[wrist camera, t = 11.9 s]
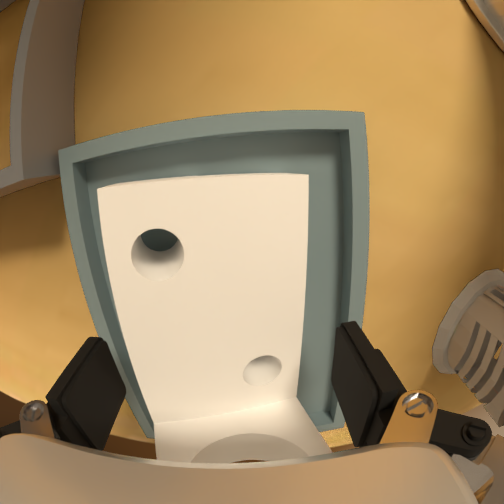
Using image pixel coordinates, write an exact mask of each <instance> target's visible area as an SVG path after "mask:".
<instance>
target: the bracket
mask: <svg viewBox="0 0 504 504" xmlns="http://www.w3.org/2000/svg"><path fill="white" fill-rule="evenodd" d="M97 195H98V206H99V215H100V223H101V231H102V238H103V245H104V251H105V257H106V263H107V268H108V273H109V279H110V283H111V288H112V293H113V297H114V302H115V306H116V310H117V314H118V318H119V322H120V326H121V330H122V333H123V337H124V340H125V344H126V347H127V350H128V354H129V357H130V360H131V363H132V366H133V369H134V372H135V375H136V378H137V381H138V384H139V387H140V390H141V392H142V395H143V398H144V400H145V403H146V405H147V408H148V410H149V413H150V415H151V418H152V420H153V423H154V435H155V447H156V458H157V460H163V461H174V462H188V463H233V462H237V461H242V460H265V461H278V460H287V459H295V458H303V457H310V456H316V455H322V454H328V453H333V452H332V451H331V449H330V448H329V446H328V445H327V443H326V442H325V440H324V439H323V437H322V436H321V434H320V433H319V431H318V430H317V428H316V427H315V425H314V424H313V422H312V421H311V419H310V417H309V416H308V414H307V413H306V411H305V410H304V408H303V406H302V405H301V403H300V402H299V400H298V399H297V397H296V396H297V387H298V378H299V368H300V357H301V346H302V334H303V321H304V306H305V290H306V270H307V246H308V201H309V175H306V174H292V173H246V174H222V175H205V176H183V177H171V178H160V179H150V180H141V181H132V182H124V183H116V184H113V185H109V186H105V187H102V188H98V189H97ZM150 229H164V230H167V231H170V232H171V233H173V234H174V235H175V236H176V237H177V238H178V240H177V242H176V243H175V245H174V246H173V247H172V248H170V249H168V250H166V251H154V250H151V249H150V248H148V247H147V246H146V245H145V244H144V243H143V241H142V238H141V234H142V233H143V232H145V231H147V230H150Z"/></svg>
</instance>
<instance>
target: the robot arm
mask: <svg viewBox="0 0 504 504" xmlns="http://www.w3.org/2000/svg"><path fill="white" fill-rule="evenodd" d="M466 2H467V3H468V5H469V7H470V8H471V10H472V11H473V12H474V14H475V15H476V17H477V18H478V20H479V21H480V23H481V24H482V25H483V27H484V28H485V29H486V31H487V32H488V34H489V35H490V36H491V37H492V38H493V40H494V41H495V42H496V44H497V45H498V46H499V47H500V48H501V49H502V51H503V52H504V0H466ZM331 382H332V386H333V389H334V392H335V394H336V397H337V400H338V402H339V405H340V408H341V410H342V413H343V416H344V419H345V421H346V424H347V427H348V430H349V433H350V435H351V438H352V441H353V444H354V446H355V447H360V448H355V449H350V450H344V451H339V452H334V453H328V454H322V455H316V456H310V457H303V458H295V459H287V460H278V461H267V462H252V463H188V462H174V461H163V460H154V459H146V458H138V457H132V456H126V455H120V454H114V453H110V452H105V451H102V450H103V449H104V447H105V444H106V442H107V439H108V437H109V434H110V432H111V429H112V427H113V424H114V422H115V419H116V417H117V414H118V412H119V410H120V407H121V405H122V403H123V400H124V398H125V396H126V387H125V384H124V382H123V380H122V378H121V375H120V373H119V371H118V368H117V366H116V364H115V361H114V359H113V356H112V354H111V351H110V349H109V346H108V344H107V342H106V341H104V339H103V338H101V337H89V338H88V339H87V340H86V341H85V343H84V344H83V345H82V347H81V348H80V349H79V351H78V352H77V353H76V355H75V356H74V357H73V359H72V360H71V361H70V363H69V364H68V366H67V367H66V368H65V370H64V371H63V372H62V374H61V375H60V377H59V378H58V379H57V381H56V382H55V384H54V385H53V387H52V388H51V390H50V391H49V392H48V394H47V395H46V399H47V401H48V403H47V404H45V403H44V402H43V401H40V400H34V401H31V402H29V403H27V404H26V405H25V406H23V408H22V409H21V412H20V420H19V421H17V422H14V423H12V424H9V425H7V426H4V427H1V428H0V504H504V437H502V436H500V435H498V434H497V435H496V437H495V436H493V435H492V431H491V428H490V426H489V425H488V424H487V423H486V422H485V421H483V420H481V419H478V418H473V417H468V416H464V415H460V414H456V413H452V412H448V411H444V410H441V409H438V403H437V400H436V399H435V397H434V396H433V395H432V394H430V393H429V392H426V391H423V390H410V391H408V392H407V391H406V389H405V388H404V386H403V384H402V383H401V381H400V380H399V378H398V377H397V375H396V374H395V372H394V370H393V369H392V367H391V366H390V364H389V363H388V361H387V360H386V358H385V357H384V355H383V354H382V352H381V351H380V350H379V349H374V348H373V346H372V345H371V343H370V342H369V340H368V339H367V337H366V336H365V334H364V333H363V331H362V330H361V328H360V327H359V325H358V324H357V322H356V321H350V322H344V323H341V325H340V327H337V328H336V334H335V345H334V356H333V366H332V375H331ZM471 489H472V490H471Z"/></svg>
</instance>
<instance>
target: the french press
mask: <svg viewBox="0 0 504 504" xmlns="http://www.w3.org/2000/svg"><path fill="white" fill-rule="evenodd" d="M502 343H503V345H502V349H501V352H500V355H499V357H498V359H497V360H496V359H494V358H493V357H494V355H495V353H496V352H497V350H498V348H499V347H500V345H501V344H502ZM432 352H433V365H434V366H435V367H436V369H437V370H438V371H439V372H440V373H446V374H455V373H456V374H458V376H459V377H460V378H461V380H462V381H463V382H464V383H466V386H467V387H468V388H469V389H470V391H471V392H473V393H476V394H474V395H475V397H476V398H477V399H478V401H479V402H481V403H487V404H486V405H484V408H485V410H486V411H487V412H488V413H489V415H490V416H491V417H492V419H493V420H494V421H495V422H496V424H497V425H498V426H499V427H501V426H503V425H504V273H503V272H502V271H501V270H499V269H494V270H488V271H484V272H483V273H481V274H480V275H479V276H477V277H476V278H475V279H473V280H472V281H470V282H469V283H468V284H467V285H466V287H465V288H464V289H463V290H462V292H461V293H460V294H459V295H458V296H457V298H456V299H455V300H454V301H453V302H452V304H451V306H450V308H449V310H448V311H447V313H446V315H445V317H444V319H443V320H442V322H441V324H440V326H439V328H438V332H437V335H436V338H435V341H434V344H433V347H432ZM464 376H465V377H466V378H467V379H464V378H463V377H464ZM473 387H474V388H473Z"/></svg>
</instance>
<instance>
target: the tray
mask: <svg viewBox="0 0 504 504" xmlns="http://www.w3.org/2000/svg"><path fill="white" fill-rule="evenodd" d="M58 153H59V166H60V176H61V185H62V193H63V200H64V207H65V213H66V219H67V224H68V230H69V235H70V240H71V244H72V249H73V253H74V257H75V262H76V266H77V270H78V273H79V277H80V281H81V284H82V288H83V291H84V295H85V298H86V301H87V304H88V307H89V310H90V313H91V316H92V319H93V322H94V325H95V328H96V331H97V333H98V336H99V337H101V338H103V339H104V341H106V342H107V344H108V346H109V349H110V351H111V354H112V356H113V359H114V361H115V364H116V366H117V368H118V371H119V373H120V375H121V378H122V380H123V382H124V384H125V387H126V396H125V398H126V400H127V402H128V404H129V406H130V408H131V410H132V412H133V414H134V416H135V417H136V419H137V421H138V423H139V425H140V426H141V428H142V430H143V432H144V433H145V435H146V437H147V438H153V439H155V435H154V423H153V420H152V418H151V415H150V413H149V410H148V408H147V405H146V403H145V400H144V398H143V395H142V392H141V390H140V387H139V384H138V381H137V378H136V375H135V372H134V369H133V366H132V363H131V360H130V357H129V354H128V350H127V347H126V344H125V340H124V337H123V333H122V330H121V326H120V322H119V318H118V314H117V310H116V306H115V302H114V297H113V293H112V288H111V283H110V279H109V273H108V268H107V263H106V257H105V251H104V245H103V238H102V231H101V223H100V215H99V206H98V195H97V189H98V188H102V187H105V186H109V185H113V184H116V183H124V182H132V181H141V180H150V179H160V178H171V177H183V176H205V175H222V174H246V173H292V174H306V175H309V201H308V246H307V270H306V290H305V306H304V321H303V334H302V346H301V357H300V368H299V378H298V387H297V396H296V397H297V399H298V400H299V402H300V403H301V405H302V406H303V408H304V410H305V411H306V413H307V414H308V416H309V417H310V419H311V421H312V422H313V424H314V425H315V427H316V428H317V430H318V431H319V432H323V431H328V430H333V429H338V428H343V427H344V423H345V419H344V416H343V413H342V410H341V408H340V405H339V402H338V400H337V397H336V394H335V392H334V389H333V386H332V382H331V375H332V366H333V356H334V345H335V334H336V328H337V327H340V325H341V323H344V322H350V321H356V322H357V324H358V325H359V327H360V328H361V330H362V323H363V315H364V305H365V295H366V283H367V269H368V250H369V169H368V150H367V136H366V125H365V115H364V112H353V111H331V110H282V111H260V112H245V113H234V114H224V115H214V116H206V117H199V118H192V119H185V120H179V121H173V122H167V123H161V124H156V125H151V126H146V127H141V128H137V129H132V130H128V131H124V132H120V133H116V134H112V135H108V136H104V137H100V138H97V139H93V140H90V141H86V142H83V143H80V144H76V145H73V146H70V147H67V148H64V149H61V150H58ZM141 238H142V241H143V243H144V244H145V245H146V246H147V247H148V248H150V249H151V250H154V251H166V250H168V249H170V248H172V247H173V246H174V245H175V243H176V242H177V240H178V238H177V237H176V236H175V235H174V234H173V233H171V232H170V231H167V230H164V229H150V230H147V231H145V232H143V233H142V234H141Z"/></svg>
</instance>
